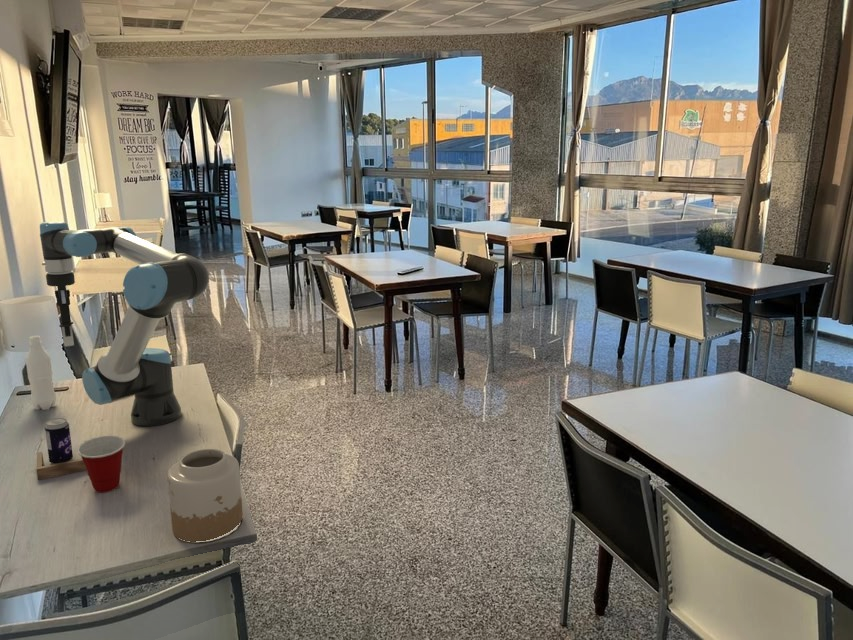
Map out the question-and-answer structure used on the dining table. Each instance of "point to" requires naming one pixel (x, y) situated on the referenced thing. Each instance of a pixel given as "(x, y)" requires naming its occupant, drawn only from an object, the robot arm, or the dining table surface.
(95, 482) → the plastic cup
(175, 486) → the vase
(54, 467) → the corral
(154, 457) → the dining table surface
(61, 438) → the beverage can
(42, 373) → the water bottle
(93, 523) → the dining table surface
